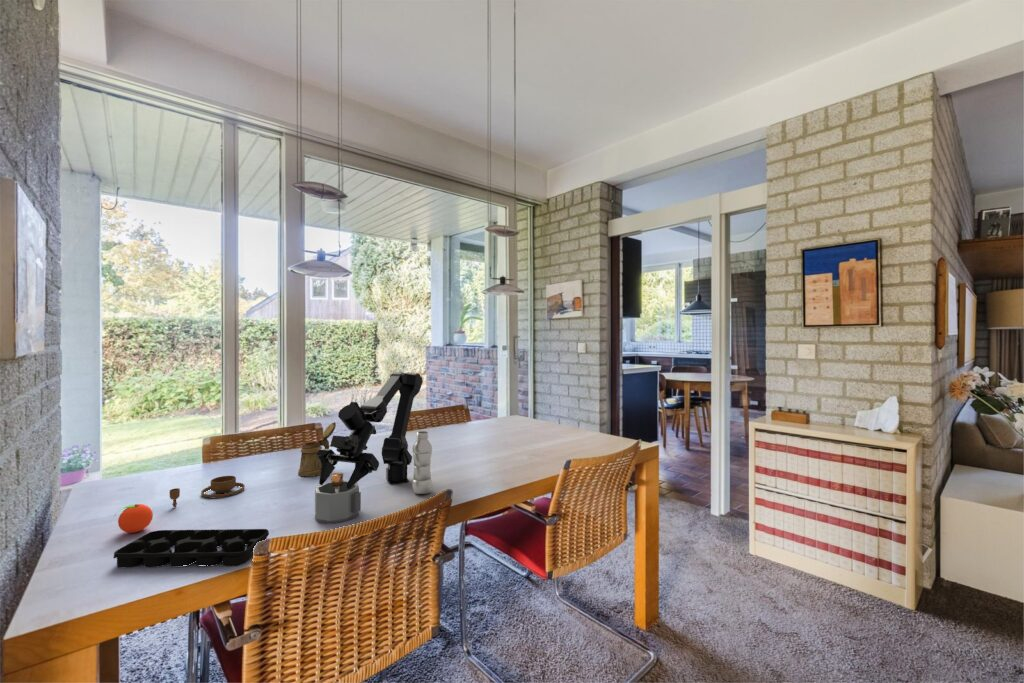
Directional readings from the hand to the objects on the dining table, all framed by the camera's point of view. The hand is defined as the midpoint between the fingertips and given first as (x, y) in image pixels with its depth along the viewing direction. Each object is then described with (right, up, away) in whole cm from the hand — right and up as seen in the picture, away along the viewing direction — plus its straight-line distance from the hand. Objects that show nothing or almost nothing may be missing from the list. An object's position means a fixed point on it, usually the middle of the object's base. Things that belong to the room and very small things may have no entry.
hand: (333, 486), depth 125 cm
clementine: (-48, -9, -10) cm, 50 cm away
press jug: (0, -9, +1) cm, 9 cm away
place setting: (-47, -9, +16) cm, 51 cm away
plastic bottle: (+21, -9, +20) cm, 30 cm away
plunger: (0, -7, +1) cm, 8 cm away
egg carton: (-24, -9, -22) cm, 33 cm away
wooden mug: (-23, -8, +41) cm, 48 cm away
